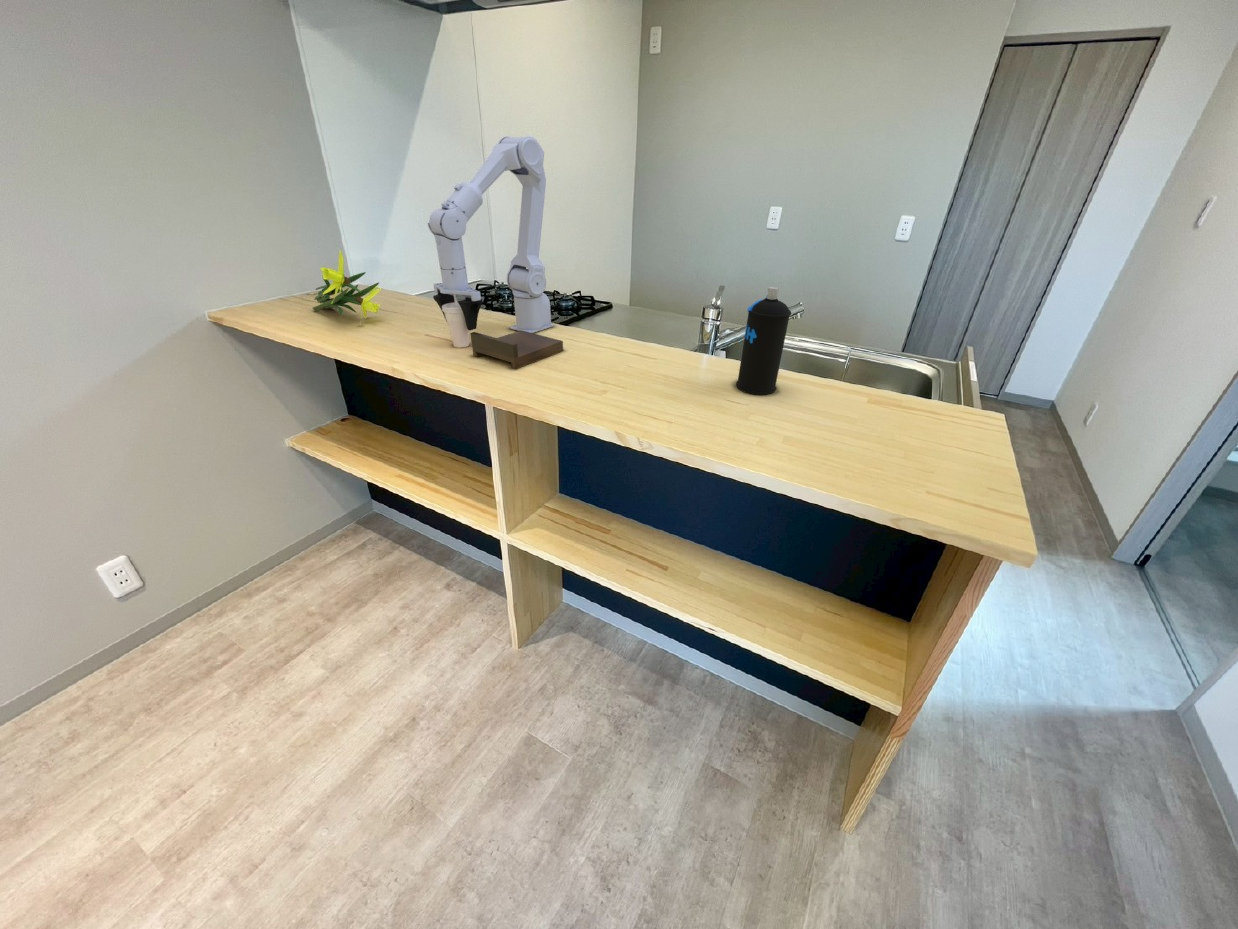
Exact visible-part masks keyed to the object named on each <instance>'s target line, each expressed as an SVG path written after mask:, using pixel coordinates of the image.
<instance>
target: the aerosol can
mask: <svg viewBox="0 0 1238 929" xmlns="http://www.w3.org/2000/svg"><path fill="white" fill-rule="evenodd" d="M778 295H779V287H777V286H768V287H767V294H766V297H765V298H763V299H759V300H757V301H755V302H753V303H752V304H751V305H750V306H749V307H748V308H747V319H746V325H745V331H744V337H743V338H744V339H743V345H742V351H741V358H740V363H739V370H738V376H737V381H736V383H735V387H736V388H737V389H738V390H739V391H740V392H743V393H746V394H750V395H755V396H763V395H764V396H767V395H771V394H774V393H775V392H776V391H777V380H778V375H779V370H780V366H781V360H782V356H783V351H784V346H785V341H786V337H787V336H786V335H787V331H788V325H789V322H790V321H789V320H790V317H791V315H792V311H791V310H790V308H789V307H788V305H787V304H785V302H783V301H781V300H779V299H778Z"/></svg>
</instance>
